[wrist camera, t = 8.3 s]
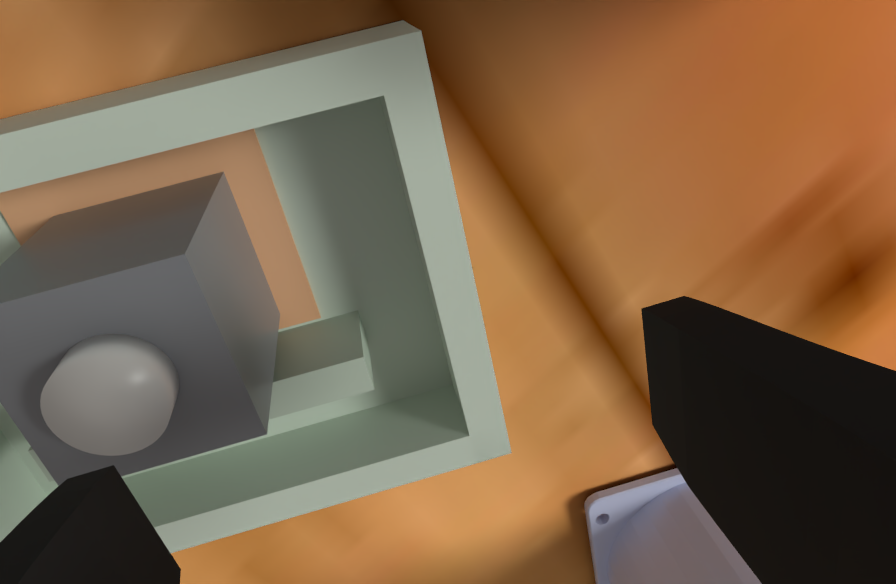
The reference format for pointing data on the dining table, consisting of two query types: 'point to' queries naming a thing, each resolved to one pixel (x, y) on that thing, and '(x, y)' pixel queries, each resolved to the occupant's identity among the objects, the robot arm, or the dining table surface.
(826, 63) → the dining table surface
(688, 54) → the dining table surface
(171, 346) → the grey block with knob
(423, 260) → the grey-green rectangular frame
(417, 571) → the dining table surface
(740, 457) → the robot arm
